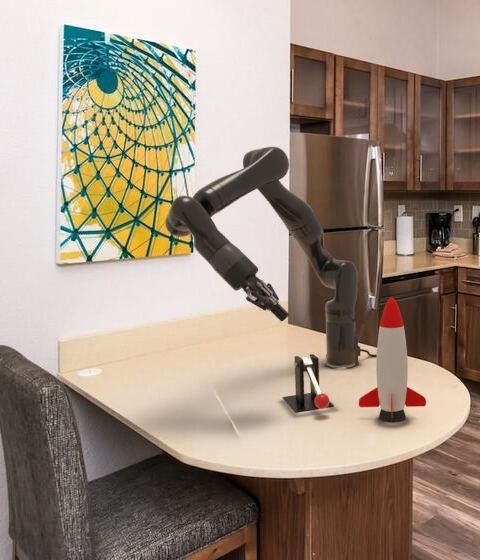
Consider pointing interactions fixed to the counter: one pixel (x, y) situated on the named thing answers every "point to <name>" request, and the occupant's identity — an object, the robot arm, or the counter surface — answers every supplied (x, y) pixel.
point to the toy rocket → (392, 370)
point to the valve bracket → (302, 400)
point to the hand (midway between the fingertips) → (285, 318)
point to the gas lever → (315, 385)
